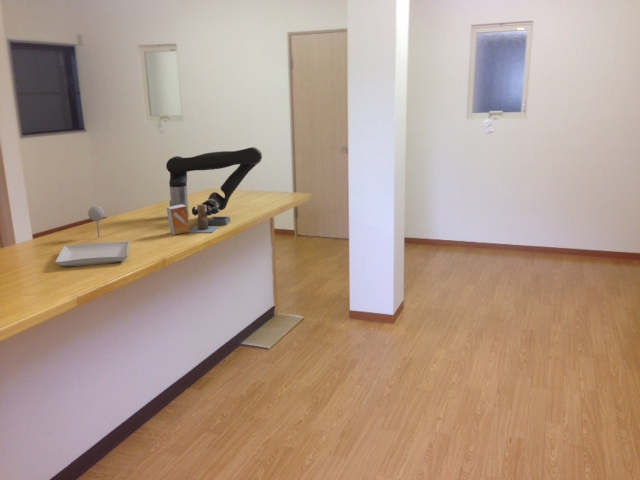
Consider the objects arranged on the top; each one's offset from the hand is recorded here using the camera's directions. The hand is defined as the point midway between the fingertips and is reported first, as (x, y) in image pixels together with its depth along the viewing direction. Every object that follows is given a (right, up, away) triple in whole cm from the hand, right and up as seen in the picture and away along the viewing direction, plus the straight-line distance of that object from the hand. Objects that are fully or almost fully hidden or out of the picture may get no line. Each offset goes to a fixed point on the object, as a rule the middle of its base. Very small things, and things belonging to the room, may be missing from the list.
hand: (201, 213), depth 275 cm
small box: (-10, -9, 0) cm, 14 cm away
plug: (0, -7, +5) cm, 9 cm away
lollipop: (-48, -12, -6) cm, 49 cm away
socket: (+5, -4, +20) cm, 21 cm away
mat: (0, -8, +5) cm, 9 cm away
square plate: (-35, -21, -41) cm, 58 cm away
